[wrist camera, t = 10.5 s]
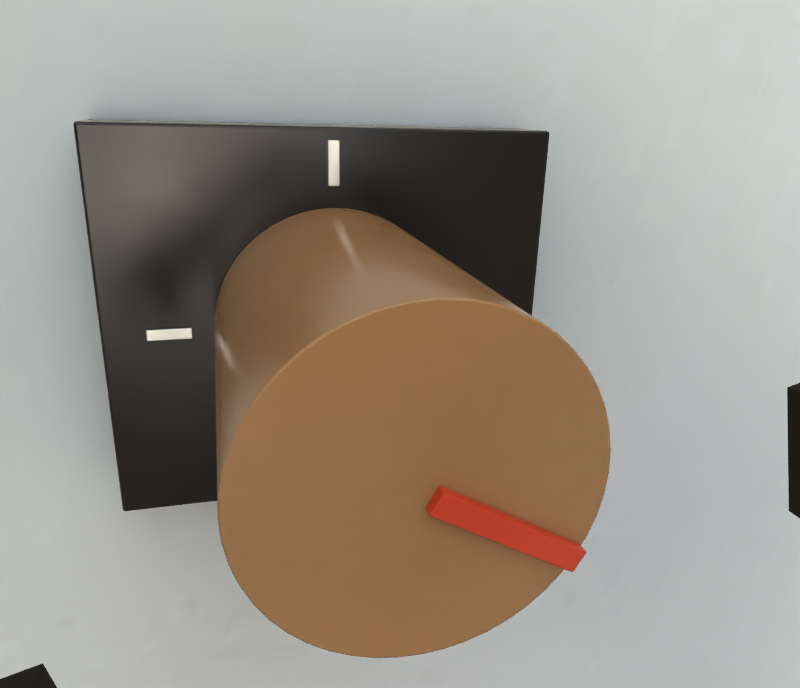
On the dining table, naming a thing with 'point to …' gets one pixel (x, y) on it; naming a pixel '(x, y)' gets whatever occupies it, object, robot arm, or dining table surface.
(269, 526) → the tan pointer knob
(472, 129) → the control knob panel
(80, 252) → the dining table surface
